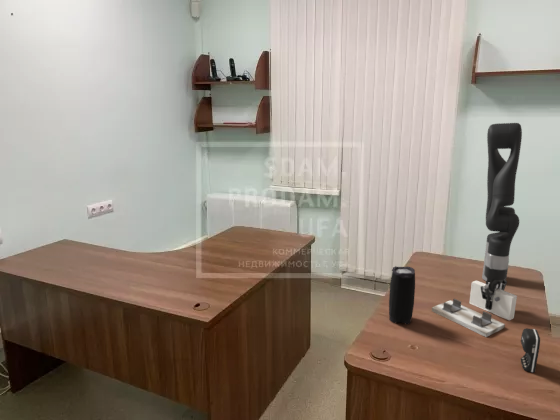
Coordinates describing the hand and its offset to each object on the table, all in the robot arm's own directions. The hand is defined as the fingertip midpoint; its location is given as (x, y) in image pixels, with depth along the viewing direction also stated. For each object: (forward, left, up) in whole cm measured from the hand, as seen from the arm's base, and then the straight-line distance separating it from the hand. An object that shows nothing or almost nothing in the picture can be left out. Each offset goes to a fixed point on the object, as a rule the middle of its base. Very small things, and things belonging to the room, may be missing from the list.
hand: (491, 307), depth 163 cm
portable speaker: (+34, -14, -1) cm, 37 cm away
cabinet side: (+13, -1, -1) cm, 14 cm away
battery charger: (+24, +26, -1) cm, 35 cm away
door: (0, 0, -1) cm, 1 cm away
